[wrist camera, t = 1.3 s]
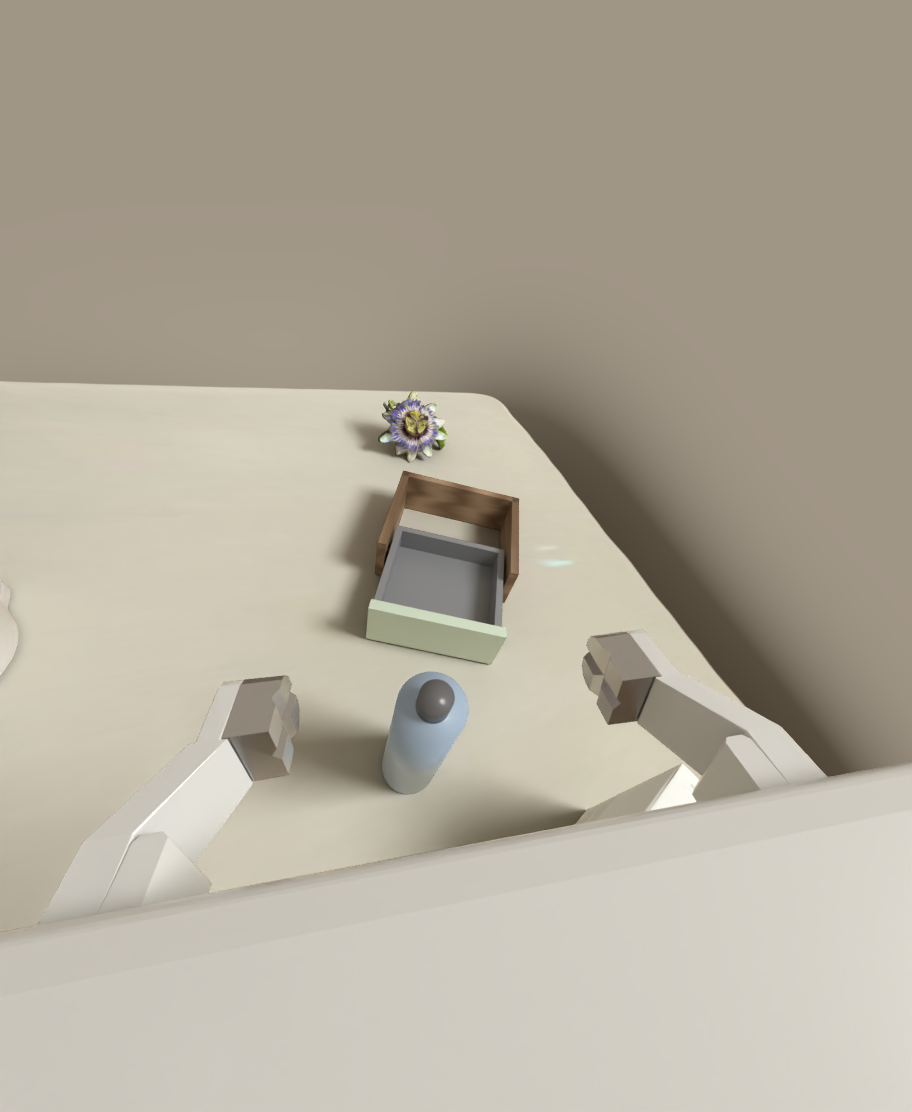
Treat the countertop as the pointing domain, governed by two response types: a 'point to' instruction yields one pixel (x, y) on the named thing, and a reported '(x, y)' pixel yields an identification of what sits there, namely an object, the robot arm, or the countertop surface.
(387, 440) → the passion flower
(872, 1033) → the robot arm
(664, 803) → the skincare box
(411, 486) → the brown open box
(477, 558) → the drawer
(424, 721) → the lotion bottle
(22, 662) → the countertop surface
